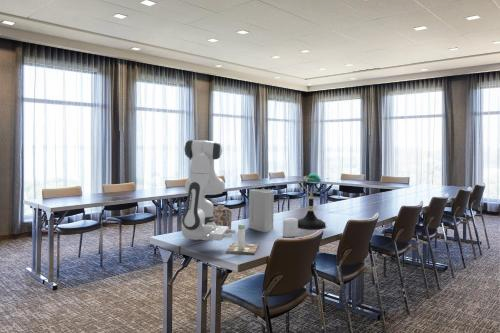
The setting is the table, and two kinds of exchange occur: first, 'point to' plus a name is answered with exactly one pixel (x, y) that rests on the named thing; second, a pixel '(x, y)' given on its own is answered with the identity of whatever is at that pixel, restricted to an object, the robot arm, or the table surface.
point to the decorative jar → (222, 216)
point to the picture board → (249, 249)
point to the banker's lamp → (310, 218)
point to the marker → (241, 236)
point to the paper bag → (261, 209)
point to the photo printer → (290, 227)
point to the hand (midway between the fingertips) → (233, 233)
